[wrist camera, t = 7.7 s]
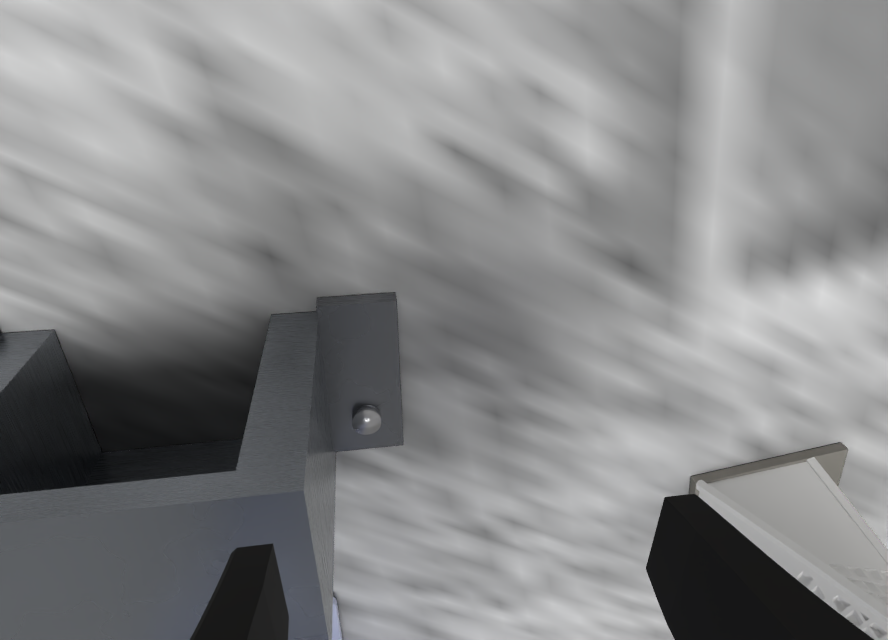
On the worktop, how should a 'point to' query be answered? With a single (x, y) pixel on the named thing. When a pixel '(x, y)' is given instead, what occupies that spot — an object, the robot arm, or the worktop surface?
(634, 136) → the worktop surface
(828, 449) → the skyscraper
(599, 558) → the worktop surface
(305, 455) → the bracket sleeve
